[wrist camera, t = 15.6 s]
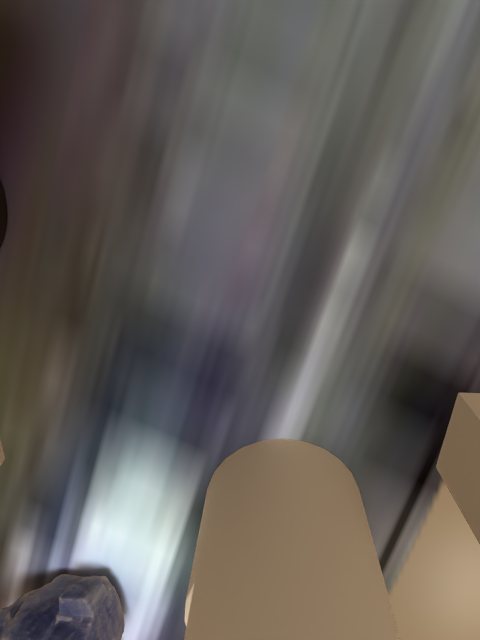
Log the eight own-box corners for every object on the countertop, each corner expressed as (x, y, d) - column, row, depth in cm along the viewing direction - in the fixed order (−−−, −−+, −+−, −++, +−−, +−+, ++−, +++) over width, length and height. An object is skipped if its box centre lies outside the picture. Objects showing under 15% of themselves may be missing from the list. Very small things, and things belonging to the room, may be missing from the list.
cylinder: (251, 412, 46) (228, 738, 20) (391, 482, 48) (538, 866, 22) (181, 524, 52) (90, 895, 26) (309, 583, 54) (347, 987, 27)
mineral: (122, 560, 54) (91, 643, 45) (130, 616, 58) (103, 705, 48) (9, 556, 55) (-45, 636, 46) (23, 612, 59) (-24, 697, 49)
